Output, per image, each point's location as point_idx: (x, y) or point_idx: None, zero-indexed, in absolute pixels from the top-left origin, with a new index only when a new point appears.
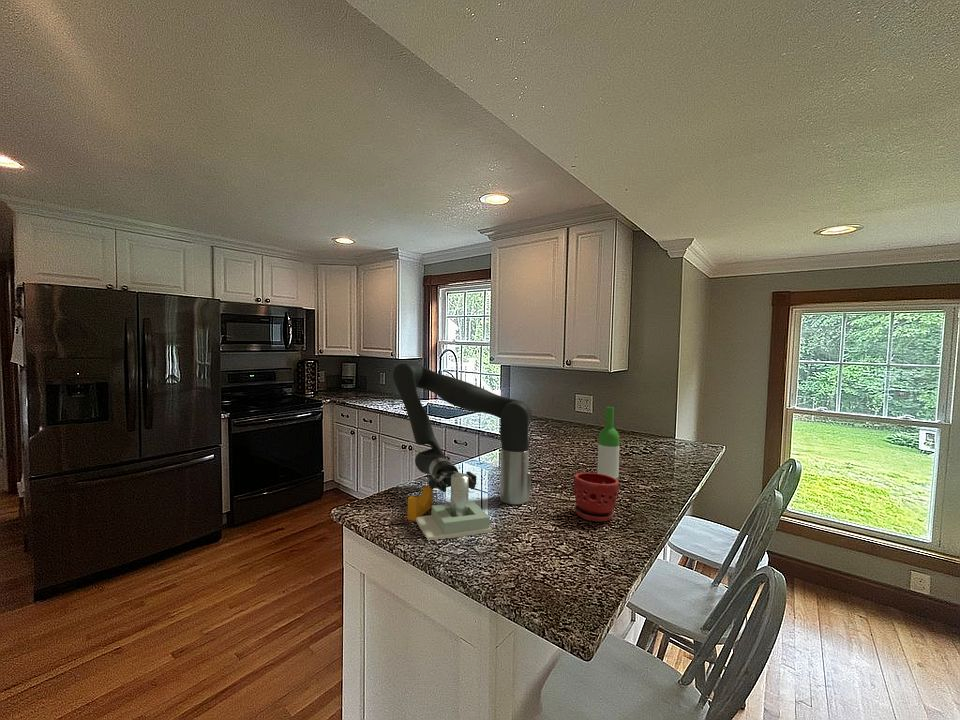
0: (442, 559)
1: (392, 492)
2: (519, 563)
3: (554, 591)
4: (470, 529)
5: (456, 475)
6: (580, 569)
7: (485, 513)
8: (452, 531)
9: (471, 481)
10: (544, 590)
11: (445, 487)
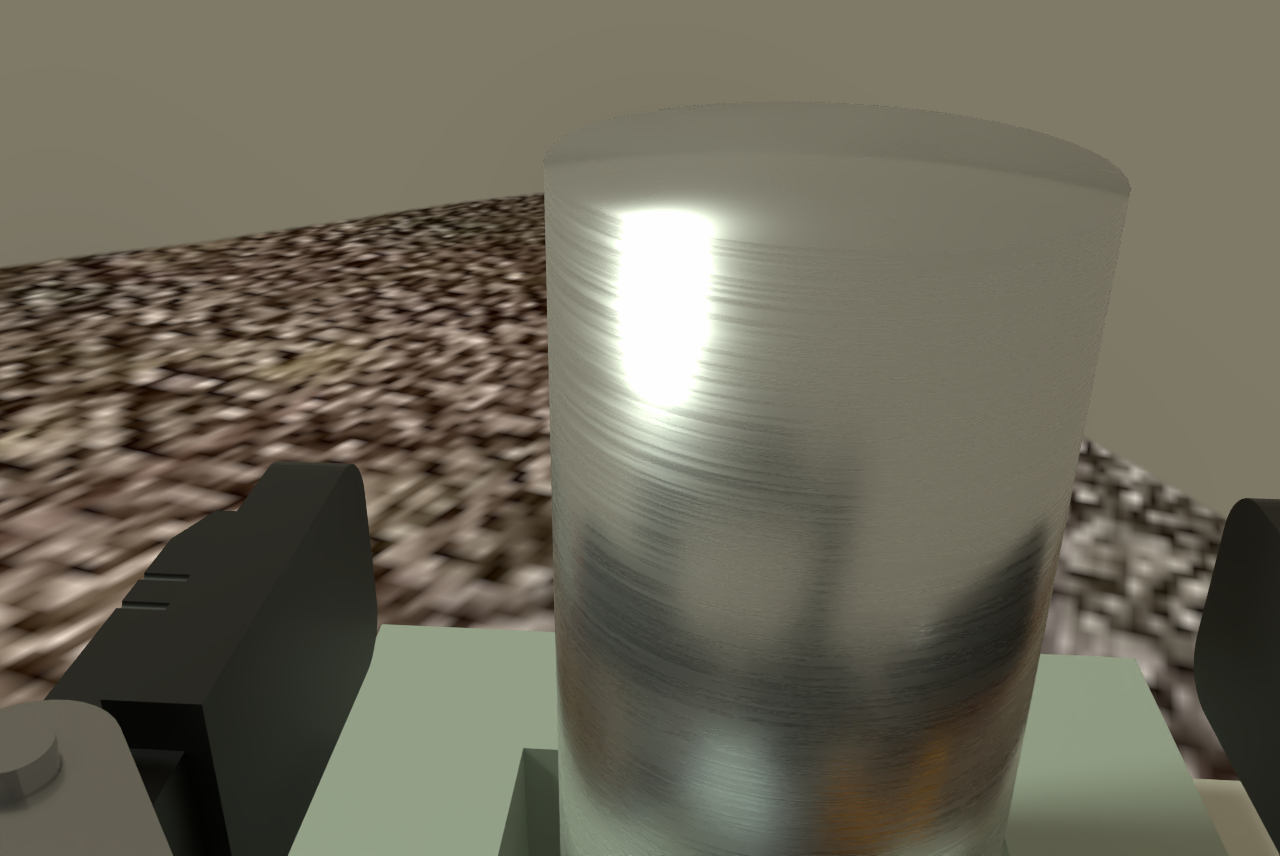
0: (1125, 542)
1: None
2: (538, 402)
3: (543, 273)
4: None
5: (934, 186)
6: (249, 315)
7: (342, 733)
8: None
9: (325, 492)
10: None
11: (1245, 550)
